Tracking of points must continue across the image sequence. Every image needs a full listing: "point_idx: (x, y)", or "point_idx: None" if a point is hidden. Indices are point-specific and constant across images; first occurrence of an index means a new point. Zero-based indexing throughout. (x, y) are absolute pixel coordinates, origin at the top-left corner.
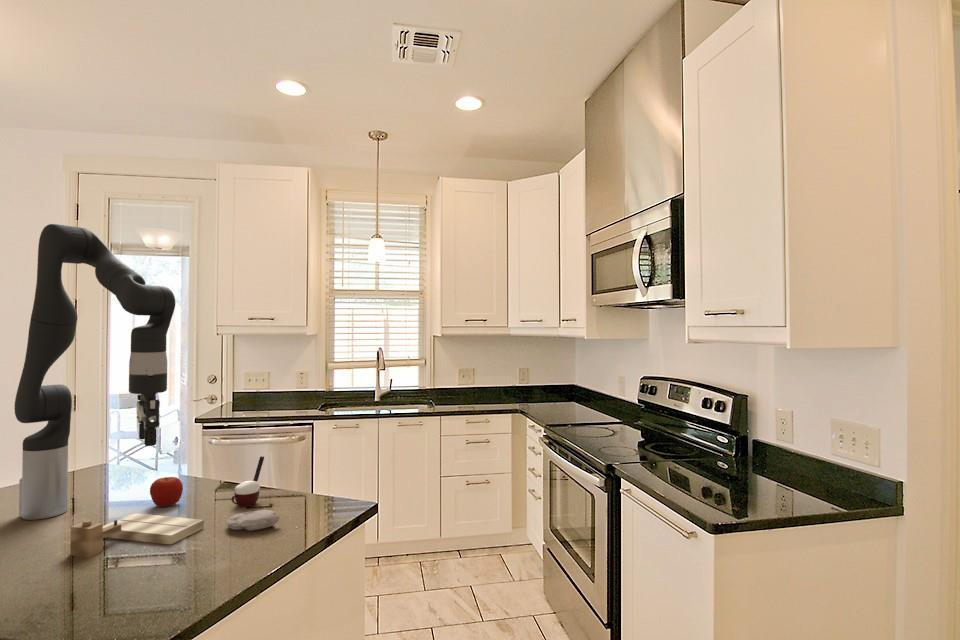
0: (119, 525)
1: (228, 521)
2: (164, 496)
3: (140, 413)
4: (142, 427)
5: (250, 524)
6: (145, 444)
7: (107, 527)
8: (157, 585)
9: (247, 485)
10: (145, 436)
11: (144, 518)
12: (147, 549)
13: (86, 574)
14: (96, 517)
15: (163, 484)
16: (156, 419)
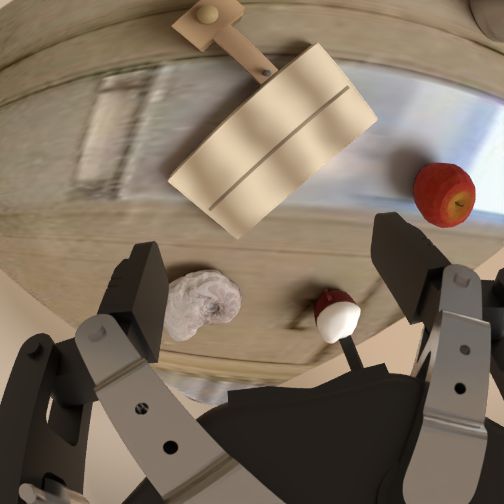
0: (257, 80)
1: (200, 277)
2: (419, 185)
3: (186, 420)
4: (409, 267)
5: None
6: (135, 248)
7: (255, 56)
8: (12, 168)
9: (324, 329)
10: (123, 280)
11: (326, 132)
12: (165, 133)
13: (91, 49)
14: (436, 63)
15: (440, 195)
16: (54, 420)
